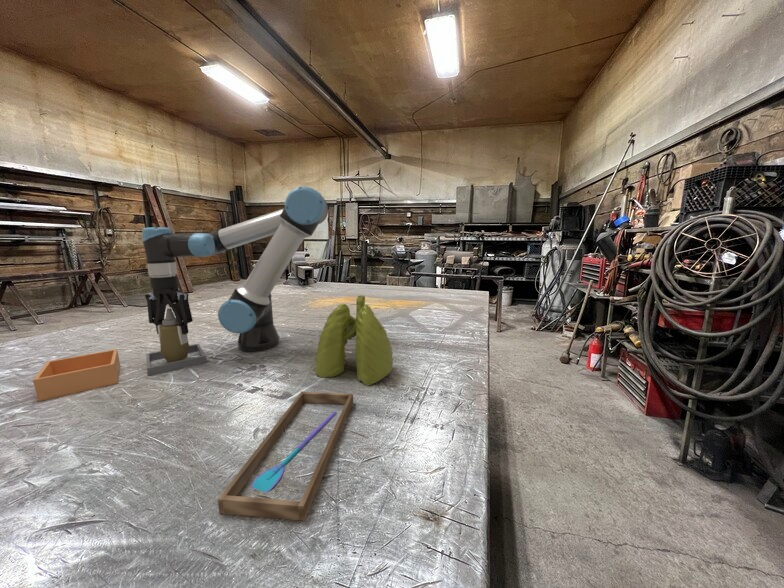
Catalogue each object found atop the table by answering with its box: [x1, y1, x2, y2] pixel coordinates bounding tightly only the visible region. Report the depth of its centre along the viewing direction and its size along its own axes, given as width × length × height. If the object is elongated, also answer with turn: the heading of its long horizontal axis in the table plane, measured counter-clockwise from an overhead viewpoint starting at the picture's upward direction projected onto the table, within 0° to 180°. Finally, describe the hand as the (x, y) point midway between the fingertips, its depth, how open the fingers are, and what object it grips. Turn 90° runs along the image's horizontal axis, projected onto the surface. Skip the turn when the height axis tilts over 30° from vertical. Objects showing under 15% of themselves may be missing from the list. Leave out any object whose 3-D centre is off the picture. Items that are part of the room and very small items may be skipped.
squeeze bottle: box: [159, 307, 190, 363], centre depth 102 cm, size 8×8×18 cm
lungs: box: [314, 295, 394, 387], centre depth 93 cm, size 25×16×24 cm, turn 69°
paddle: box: [251, 411, 337, 493], centre depth 62 cm, size 25×4×1 cm, turn 161°
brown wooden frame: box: [217, 391, 354, 521], centre depth 62 cm, size 14×33×2 cm, turn 174°
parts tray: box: [145, 343, 207, 377], centre depth 104 cm, size 16×16×2 cm
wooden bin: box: [32, 348, 121, 402], centre depth 89 cm, size 16×16×6 cm
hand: (174, 342), depth 103 cm, fingers closed on squeeze bottle, 6 cm apart
